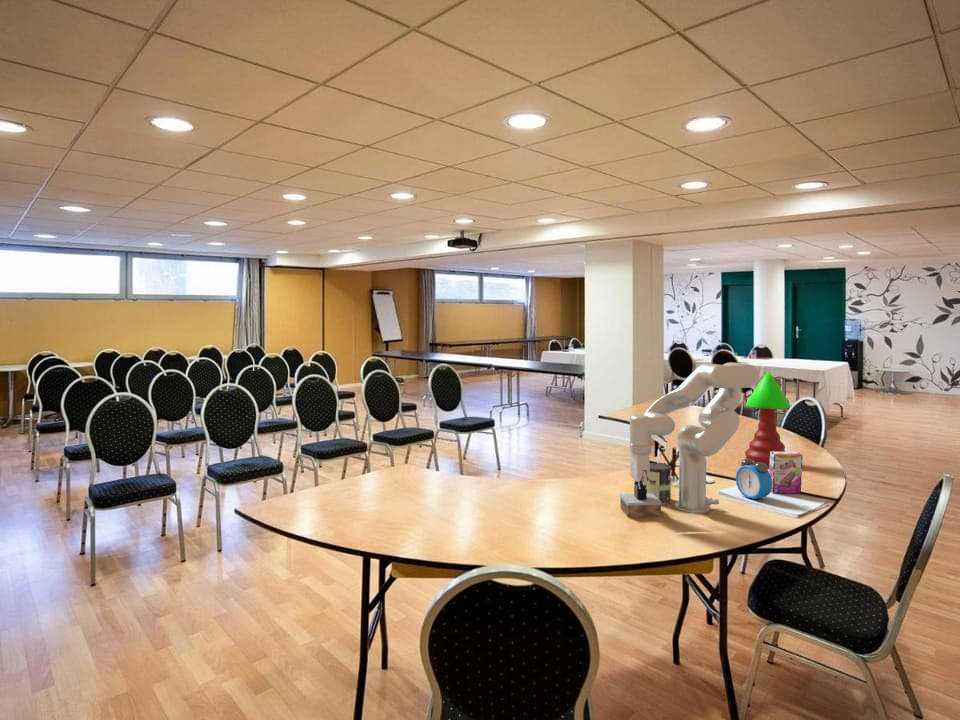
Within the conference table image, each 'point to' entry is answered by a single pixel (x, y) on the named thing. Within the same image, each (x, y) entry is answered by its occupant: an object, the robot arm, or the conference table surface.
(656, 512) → the box
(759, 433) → the table lamp
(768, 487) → the alarm clock
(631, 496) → the lid
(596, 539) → the conference table surface
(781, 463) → the candy bar box
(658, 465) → the coffee can
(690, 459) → the robot arm
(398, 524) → the conference table surface
